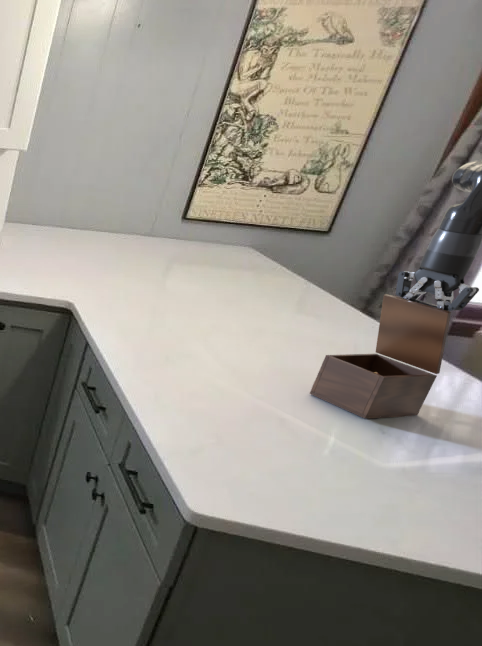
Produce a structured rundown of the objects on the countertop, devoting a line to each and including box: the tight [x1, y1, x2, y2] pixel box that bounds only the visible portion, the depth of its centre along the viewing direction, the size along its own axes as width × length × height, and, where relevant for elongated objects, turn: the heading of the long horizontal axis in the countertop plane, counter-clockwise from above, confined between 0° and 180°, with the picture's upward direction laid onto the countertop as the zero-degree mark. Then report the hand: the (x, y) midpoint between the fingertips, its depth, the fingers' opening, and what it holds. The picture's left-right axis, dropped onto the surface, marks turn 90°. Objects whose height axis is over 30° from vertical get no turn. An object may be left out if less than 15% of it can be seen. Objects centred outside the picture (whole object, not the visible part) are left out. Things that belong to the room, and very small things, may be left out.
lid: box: [375, 293, 452, 375], centre depth 150 cm, size 16×13×5 cm
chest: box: [309, 353, 438, 420], centre depth 153 cm, size 16×13×11 cm
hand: (418, 320), depth 148 cm, fingers closed on lid, 5 cm apart
